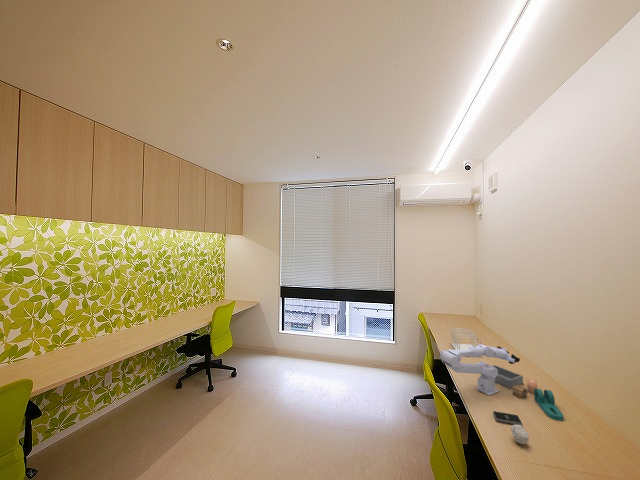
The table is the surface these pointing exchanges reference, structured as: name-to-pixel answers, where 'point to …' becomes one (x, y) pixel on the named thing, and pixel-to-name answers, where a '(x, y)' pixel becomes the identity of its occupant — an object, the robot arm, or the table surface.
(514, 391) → the walnut cube
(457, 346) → the file sorter
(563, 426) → the table surface
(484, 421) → the table surface
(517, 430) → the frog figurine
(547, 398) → the bracket
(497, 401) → the table surface
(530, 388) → the terracotta cylinder
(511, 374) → the tote
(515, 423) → the external hard drive
